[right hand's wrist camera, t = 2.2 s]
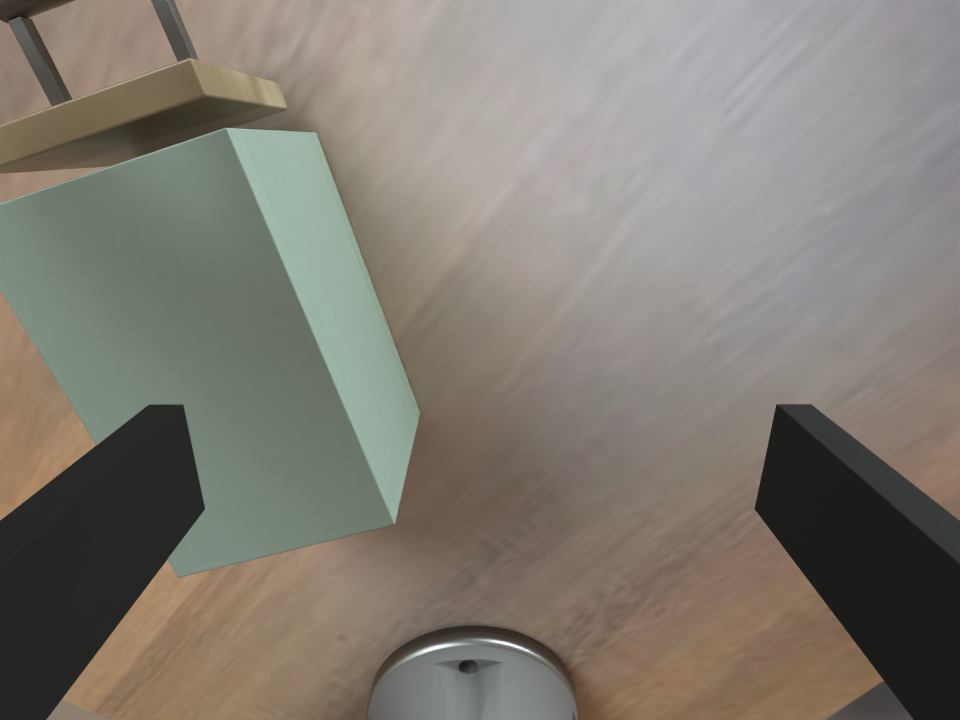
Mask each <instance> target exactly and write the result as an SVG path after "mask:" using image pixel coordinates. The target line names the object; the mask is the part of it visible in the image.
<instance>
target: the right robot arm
mask: <svg viewBox="0 0 960 720" xmlns="http://www.w3.org/2000/svg"><path fill="white" fill-rule="evenodd" d="M204 510H205V505H204V501H203V496H202V491H201V486H200V481H199V477H198V472H197V467H196V462H195V457H194V453H193V448H192V443H191V438H190V433H189V429H188V424H187V419H186V414H185V409H184V405H183V404H149V405H148V406H146V407H145V408H144V409H142V410H141V411H140V412H139V413H137V414H136V415H135V416H134V417H132V418H131V419H130V420H128V421H127V422H126V423H125V424H123V425H122V426H121V427H119V428H118V429H117V430H116V431H114V432H113V433H112V434H111V435H109V436H108V437H107V438H105V439H104V440H103V441H102V442H100V443H99V444H98V445H97V446H95V447H94V448H93V449H91V450H90V451H89V452H88V453H86V454H85V455H84V456H82V457H81V458H80V459H79V460H77V461H76V462H75V463H74V464H72V465H71V466H70V467H68V468H67V469H66V470H65V471H63V472H62V473H61V474H59V475H58V476H57V477H56V478H54V479H53V480H52V481H51V482H49V483H48V484H47V485H45V486H44V487H43V488H42V489H40V490H39V491H38V492H37V493H35V494H34V495H33V496H31V497H30V498H29V499H28V500H26V501H25V502H24V503H22V504H21V505H20V506H19V507H17V508H16V509H15V510H14V511H12V512H11V513H10V514H8V515H7V516H6V517H5V518H3V519H2V520H1V521H0V720H46V719H47V718H48V717H49V715H50V714H51V713H52V711H53V710H54V709H55V707H56V706H57V705H58V703H59V702H60V701H61V699H62V698H63V697H64V695H65V694H66V693H67V691H68V690H69V689H70V688H71V686H72V685H73V684H74V682H75V681H76V680H77V678H78V677H79V676H80V674H81V673H82V672H83V670H84V669H85V668H86V666H87V665H88V664H89V662H90V661H91V660H92V658H93V657H94V656H95V654H96V653H97V652H98V650H99V649H100V648H101V646H102V645H103V644H104V642H105V641H106V640H107V639H108V637H109V636H110V635H111V633H112V632H113V631H114V629H115V628H116V627H117V625H118V624H119V623H120V621H121V620H122V619H123V617H124V616H125V615H126V613H127V612H128V611H129V609H130V608H131V607H132V605H133V604H134V603H135V601H136V600H137V599H138V597H139V596H140V595H141V593H142V592H143V591H144V590H145V588H146V587H147V586H148V584H149V583H150V582H151V580H152V579H153V578H154V576H155V575H156V574H157V572H158V571H159V570H160V568H161V567H162V566H163V564H164V563H165V562H166V560H167V559H168V558H169V556H170V555H171V554H172V552H173V551H174V550H175V548H176V547H177V546H178V544H179V543H180V542H181V540H182V539H183V538H184V537H185V535H186V534H187V533H188V531H189V530H190V529H191V527H192V526H193V525H194V523H195V522H196V521H197V519H198V518H199V517H200V515H201V514H202V513H203V511H204ZM755 510H756V511H757V513H758V514H759V515H760V517H761V518H762V519H763V521H764V522H765V523H766V525H767V526H768V527H769V529H770V530H771V531H772V533H773V534H774V535H775V537H776V538H777V539H778V540H779V542H780V543H781V544H782V546H783V547H784V548H785V550H786V551H787V552H788V554H789V555H790V556H791V558H792V559H793V560H794V562H795V563H796V564H797V566H798V567H799V568H800V570H801V571H802V572H803V574H804V575H805V576H806V578H807V579H808V580H809V582H810V583H811V584H812V586H813V587H814V588H815V590H816V591H817V592H818V593H819V595H820V596H821V597H822V599H823V600H824V601H825V603H826V604H827V605H828V607H829V608H830V609H831V611H832V612H833V613H834V615H835V616H836V617H837V619H838V620H839V621H840V623H841V624H842V625H843V627H844V628H845V629H846V631H847V632H848V633H849V635H850V636H851V637H852V639H853V640H854V641H855V642H856V644H857V645H858V646H859V648H860V649H861V650H862V652H863V653H864V654H865V656H866V657H867V658H868V660H869V661H870V662H871V664H872V665H873V666H874V668H875V669H876V670H877V672H878V673H879V674H880V676H881V677H882V678H883V680H884V681H885V682H886V684H887V685H888V686H889V688H890V689H891V690H892V691H893V693H894V694H895V695H896V697H897V698H898V699H899V701H900V702H901V703H902V705H903V706H904V707H905V709H906V710H907V711H908V713H909V714H910V715H911V717H912V718H913V719H914V720H960V521H959V520H958V519H957V518H955V517H954V516H953V515H952V514H950V513H949V512H948V511H946V510H945V509H944V508H943V507H941V506H940V505H939V504H938V503H936V502H935V501H934V500H932V499H931V498H930V497H929V496H927V495H926V494H925V493H923V492H922V491H921V490H920V489H918V488H917V487H916V486H915V485H913V484H912V483H911V482H909V481H908V480H907V479H906V478H904V477H903V476H902V475H901V474H899V473H898V472H897V471H895V470H894V469H893V468H892V467H890V466H889V465H888V464H886V463H885V462H884V461H883V460H881V459H880V458H879V457H878V456H876V455H875V454H874V453H872V452H871V451H870V450H869V449H867V448H866V447H865V446H863V445H862V444H861V443H860V442H858V441H857V440H856V439H855V438H853V437H852V436H851V435H849V434H848V433H847V432H846V431H844V430H843V429H842V428H841V427H839V426H838V425H837V424H835V423H834V422H833V421H832V420H830V419H829V418H828V417H826V416H825V415H824V414H823V413H821V412H820V411H819V410H818V409H816V408H815V407H814V406H812V405H811V404H777V405H776V409H775V414H774V419H773V424H772V429H771V433H770V438H769V443H768V448H767V453H766V457H765V462H764V467H763V472H762V477H761V481H760V486H759V491H758V496H757V501H756V505H755ZM367 720H579V714H578V708H577V702H576V696H575V690H574V685H573V682H572V679H571V677H570V675H569V673H568V671H567V670H566V668H565V667H564V665H563V664H562V663H561V662H560V660H559V659H558V658H557V657H556V656H555V655H554V654H553V653H551V652H550V651H549V650H548V649H546V648H545V647H544V646H542V645H540V644H539V643H537V642H535V641H534V640H532V639H530V638H527V637H525V636H523V635H520V634H517V633H514V632H511V631H507V630H503V629H499V628H492V627H483V626H461V627H452V628H446V629H441V630H437V631H433V632H430V633H427V634H424V635H422V636H419V637H417V638H415V639H413V640H411V641H409V642H408V643H406V644H404V645H403V646H401V647H400V648H399V649H397V650H396V651H395V652H394V653H392V654H391V655H390V656H389V657H388V658H387V660H386V661H385V662H384V663H383V664H382V666H381V667H380V669H379V670H378V672H377V674H376V676H375V679H374V682H373V685H372V690H371V695H370V700H369V705H368V710H367Z"/></svg>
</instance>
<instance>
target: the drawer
mask: <svg viewBox="0 0 960 720" xmlns="http://www.w3.org/2000/svg"><path fill="white" fill-rule="evenodd" d="M72 1H75V0H34V1H31V2H25V1H22V0H0V20H2V21H4V22H6V23H9V25H10V27H11V29H12V31H13V32H14V34H15V36H16V38H17V40H18V42H19V44H20V46H21V48H22V50H23V52H24V54H25V55H26V57H27V59H28V61H29V63H30V65H31V67H32V69H33V71H34V73H35V75H36V77H37V78H38V80H39V82H40V84H41V86H42V88H43V90H44V92H45V94H46V96H47V98H48V100H49V101H50V103H51V105H52V107H49V108H46V109H44V110H41V111H38V112H35V113H32V114H29V115H27V116H24V117H21V118H18V119H15V120H13V121H10V122H7V123H4V124H1V125H0V174H2V173H17V172H31V171H46V170H61V169H76V168H91V167H106V166H113V165H116V164H119V163H122V162H125V161H128V160H131V159H134V158H137V157H140V156H143V155H146V154H149V153H152V152H155V151H158V150H161V149H164V148H167V147H170V146H173V145H176V144H179V143H182V142H185V141H188V140H191V139H194V138H197V137H200V136H202V135H205V134H208V133H211V132H214V131H217V130H220V129H223V128H233V127H236V126H239V125H242V124H245V123H248V122H251V121H254V120H257V119H260V118H263V117H266V116H269V115H272V114H275V113H278V112H281V111H284V110H286V109H287V105H286V102H285V100H284V97H283V95H282V92H281V89H280V87H279V84H278V83H276V82H273V81H269V80H266V79H262V78H259V77H255V76H252V75H248V74H245V73H241V72H238V71H234V70H231V69H227V68H224V67H220V66H217V65H213V64H210V63H206V62H203V61H199V59H198V57H197V54H196V52H195V49H194V47H193V45H192V42H191V40H190V38H189V35H188V33H187V31H186V28H185V26H184V23H183V21H182V19H181V16H180V14H179V12H178V9H177V7H176V5H175V2H174V0H151V1H152V3H153V5H154V8H155V10H156V12H157V15H158V17H159V19H160V21H161V24H162V26H163V28H164V31H165V33H166V35H167V38H168V40H169V42H170V44H171V47H172V49H173V51H174V54H175V56H176V58H177V60H178V62H176V63H173V64H171V65H168V66H165V67H162V68H159V69H157V70H154V71H151V72H148V73H145V74H142V75H140V76H137V77H134V78H131V79H128V80H125V81H123V82H120V83H117V84H114V85H111V86H109V87H106V88H103V89H100V90H97V91H94V92H92V93H89V94H86V95H83V96H80V97H77V98H75V99H72V98H71V96H70V94H69V92H68V90H67V88H66V86H65V84H64V82H63V80H62V78H61V76H60V74H59V72H58V70H57V68H56V66H55V64H54V62H53V60H52V58H51V56H50V54H49V52H48V50H47V48H46V46H45V45H44V43H43V41H42V39H41V37H40V35H39V33H38V31H37V29H36V27H35V25H34V23H33V21H32V20H31V19H29V17H32V16H35V15H37V14H40V13H43V12H45V11H48V10H51V9H53V8H56V7H59V6H61V5H64V4H67V3H69V2H72Z"/></svg>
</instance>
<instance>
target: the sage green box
mask: <svg viewBox="0 0 960 720" xmlns="http://www.w3.org/2000/svg"><path fill="white" fill-rule="evenodd" d="M0 290H1V292H2V293H3V295H4V297H5V298H6V300H7V302H8V303H9V305H10V306H11V308H12V310H13V311H14V313H15V314H16V316H17V318H18V319H19V321H20V323H21V324H22V326H23V327H24V329H25V331H26V332H27V334H28V335H29V337H30V339H31V340H32V342H33V344H34V345H35V347H36V348H37V350H38V352H39V353H40V355H41V356H42V358H43V360H44V361H45V363H46V365H47V366H48V368H49V369H50V371H51V373H52V374H53V376H54V377H55V379H56V381H57V382H58V384H59V386H60V387H61V389H62V390H63V392H64V394H65V395H66V397H67V398H68V400H69V402H70V403H71V405H72V407H73V408H74V410H75V411H76V413H77V415H78V416H79V418H80V419H81V421H82V423H83V424H84V426H85V428H86V429H87V431H88V432H89V434H90V436H91V437H92V439H93V440H94V442H95V444H96V445H98V444H99V443H100V442H102V441H103V440H104V439H105V438H107V437H108V436H109V435H111V434H112V433H113V432H114V431H116V430H117V429H118V428H119V427H121V426H122V425H123V424H125V423H126V422H127V421H128V420H130V419H131V418H132V417H134V416H135V415H136V414H137V413H139V412H140V411H141V410H142V409H144V408H145V407H146V406H148V405H149V404H183V405H184V409H185V414H186V419H187V424H188V429H189V433H190V438H191V443H192V448H193V453H194V457H195V462H196V467H197V472H198V477H199V481H200V486H201V491H202V496H203V501H204V505H205V510H204V511H203V513H202V514H201V515H200V517H199V518H198V519H197V521H196V522H195V523H194V525H193V526H192V527H191V529H190V530H189V531H188V533H187V534H186V535H185V537H184V538H183V539H182V540H181V542H180V543H179V544H178V546H177V547H176V548H175V550H174V551H173V552H172V554H171V555H170V556H169V558H168V559H167V560H168V562H169V563H170V565H171V566H172V568H173V570H174V571H175V573H176V574H177V576H178V577H179V578H180V577H184V576H188V575H192V574H196V573H200V572H204V571H208V570H212V569H216V568H220V567H224V566H229V565H233V564H237V563H241V562H245V561H249V560H253V559H257V558H261V557H265V556H269V555H273V554H277V553H281V552H286V551H290V550H294V549H298V548H302V547H306V546H310V545H314V544H318V543H322V542H326V541H330V540H334V539H339V538H343V537H347V536H351V535H355V534H359V533H363V532H367V531H371V530H375V529H379V528H383V527H387V526H391V525H395V522H396V518H397V513H398V508H399V503H400V499H401V495H402V490H403V486H404V482H405V477H406V473H407V469H408V464H409V460H410V455H411V451H412V447H413V442H414V438H415V434H416V429H417V425H418V420H419V417H420V411H419V408H418V405H417V403H416V400H415V397H414V394H413V392H412V389H411V386H410V384H409V381H408V378H407V376H406V373H405V370H404V368H403V365H402V362H401V360H400V357H399V354H398V351H397V349H396V346H395V343H394V341H393V338H392V335H391V333H390V330H389V327H388V325H387V322H386V319H385V317H384V314H383V311H382V308H381V306H380V303H379V300H378V298H377V295H376V292H375V290H374V287H373V284H372V282H371V279H370V276H369V274H368V271H367V268H366V265H365V263H364V260H363V257H362V255H361V252H360V249H359V247H358V244H357V241H356V239H355V236H354V233H353V231H352V228H351V225H350V222H349V220H348V217H347V214H346V212H345V209H344V206H343V204H342V201H341V198H340V196H339V193H338V190H337V188H336V185H335V182H334V179H333V177H332V174H331V171H330V169H329V166H328V163H327V161H326V158H325V155H324V153H323V150H322V147H321V144H320V142H319V139H318V136H317V134H316V133H315V132H294V131H275V130H255V129H238V128H223V129H220V130H217V131H214V132H211V133H208V134H205V135H202V136H200V137H197V138H194V139H191V140H188V141H185V142H182V143H179V144H176V145H173V146H170V147H167V148H164V149H161V150H158V151H155V152H152V153H149V154H146V155H143V156H140V157H137V158H134V159H131V160H128V161H125V162H122V163H119V164H116V165H113V166H110V167H107V168H105V169H102V170H99V171H96V172H93V173H90V174H87V175H84V176H81V177H78V178H75V179H72V180H69V181H66V182H63V183H60V184H57V185H54V186H51V187H48V188H45V189H42V190H39V191H36V192H33V193H30V194H27V195H24V196H21V197H18V198H15V199H13V200H10V201H7V202H4V203H1V204H0Z"/></svg>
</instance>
